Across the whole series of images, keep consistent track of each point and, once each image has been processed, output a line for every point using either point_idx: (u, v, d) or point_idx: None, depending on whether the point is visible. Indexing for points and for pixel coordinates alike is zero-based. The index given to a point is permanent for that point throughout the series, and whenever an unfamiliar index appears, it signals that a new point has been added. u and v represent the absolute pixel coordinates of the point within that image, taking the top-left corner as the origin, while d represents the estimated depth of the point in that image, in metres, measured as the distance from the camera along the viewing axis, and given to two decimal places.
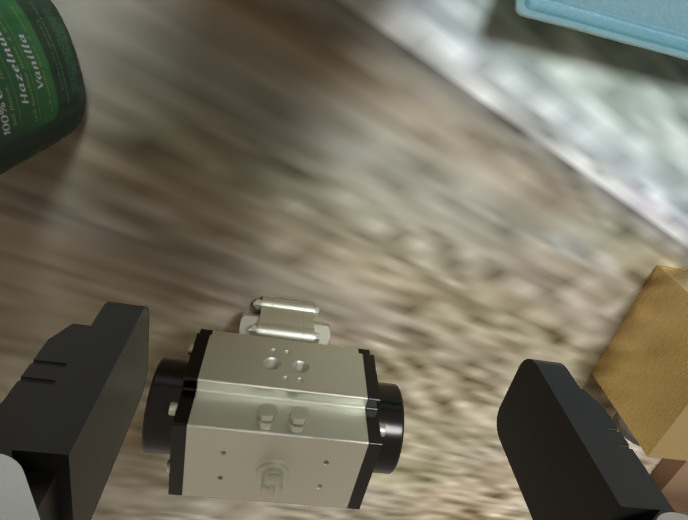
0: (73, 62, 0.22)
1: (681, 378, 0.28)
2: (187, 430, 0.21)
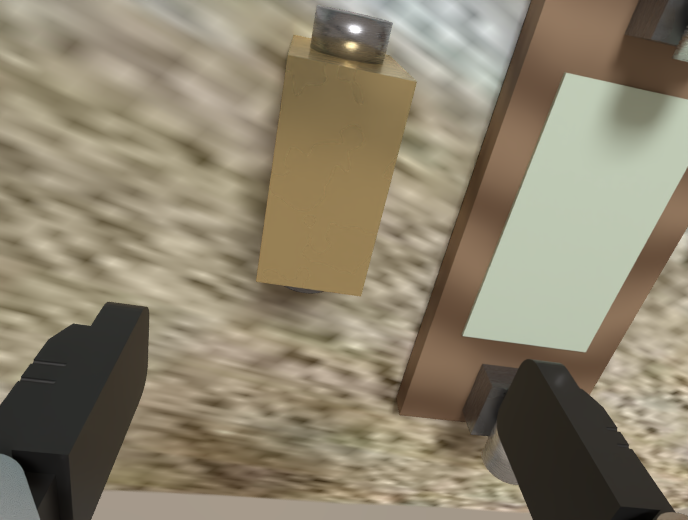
0: None
1: None
2: None
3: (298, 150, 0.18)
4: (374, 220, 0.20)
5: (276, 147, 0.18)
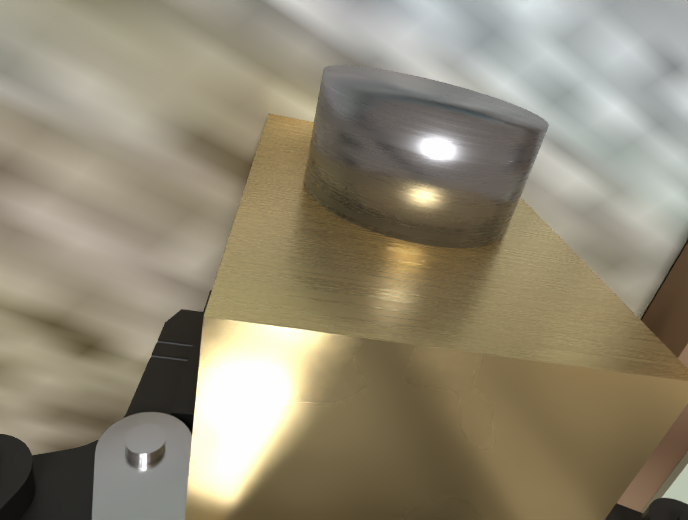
0: None
1: None
2: None
3: None
4: None
5: None
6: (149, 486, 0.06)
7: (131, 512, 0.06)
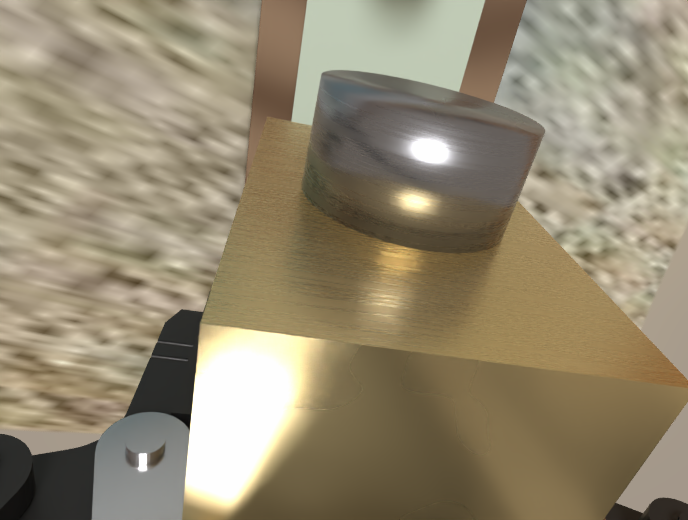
0: None
1: None
2: None
3: None
4: None
5: None
6: (149, 487, 0.06)
7: (131, 512, 0.06)
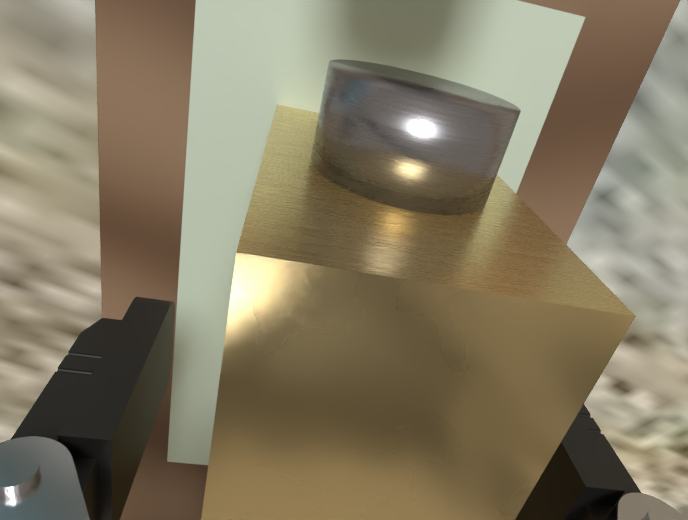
0: None
1: None
2: None
3: (275, 470, 0.07)
4: None
5: (212, 466, 0.07)
6: None
7: None
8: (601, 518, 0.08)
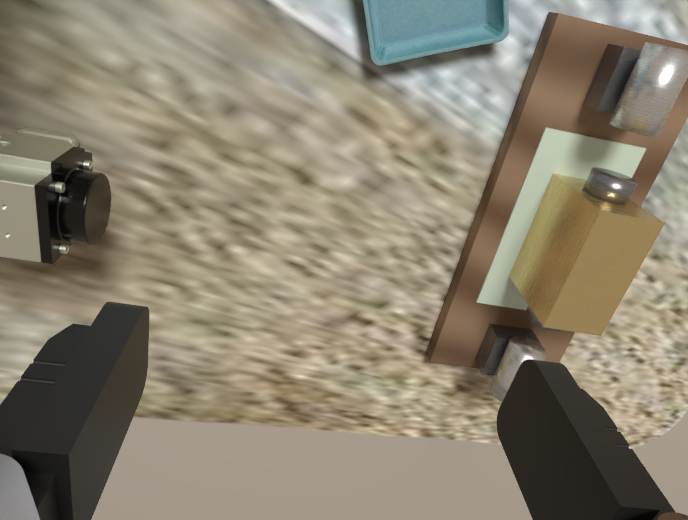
0: None
1: (566, 256, 0.34)
2: None
3: (591, 256, 0.33)
4: (621, 293, 0.34)
5: (579, 255, 0.33)
6: None
7: None
8: None
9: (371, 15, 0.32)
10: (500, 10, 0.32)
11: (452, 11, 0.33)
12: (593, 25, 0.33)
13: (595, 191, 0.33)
